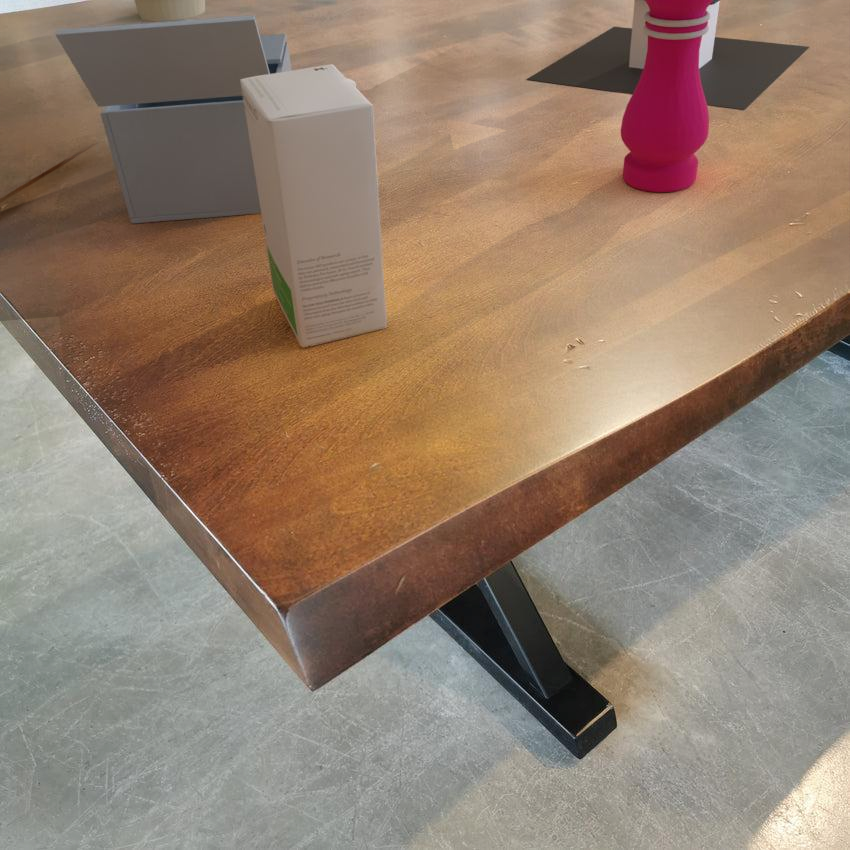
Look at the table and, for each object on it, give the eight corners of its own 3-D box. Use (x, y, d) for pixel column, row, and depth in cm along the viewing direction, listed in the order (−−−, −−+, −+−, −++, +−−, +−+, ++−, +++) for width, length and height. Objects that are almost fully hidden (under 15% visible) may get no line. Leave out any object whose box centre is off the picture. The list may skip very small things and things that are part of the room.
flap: (274, 89, 70) (274, 93, 70) (98, 102, 70) (98, 107, 70) (254, 14, 62) (254, 19, 62) (55, 29, 62) (55, 34, 62)
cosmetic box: (273, 295, 65) (233, 76, 55) (359, 276, 66) (334, 60, 57) (301, 352, 58) (262, 117, 49) (396, 329, 60) (375, 97, 50)
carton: (293, 210, 76) (274, 89, 70) (131, 224, 76) (97, 102, 70) (301, 140, 90) (286, 33, 83) (163, 151, 89) (137, 44, 83)
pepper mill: (665, 202, 73) (698, -69, 61) (599, 179, 78) (617, -78, 66) (718, 177, 77) (759, -85, 65) (652, 156, 81) (679, -93, 69)
